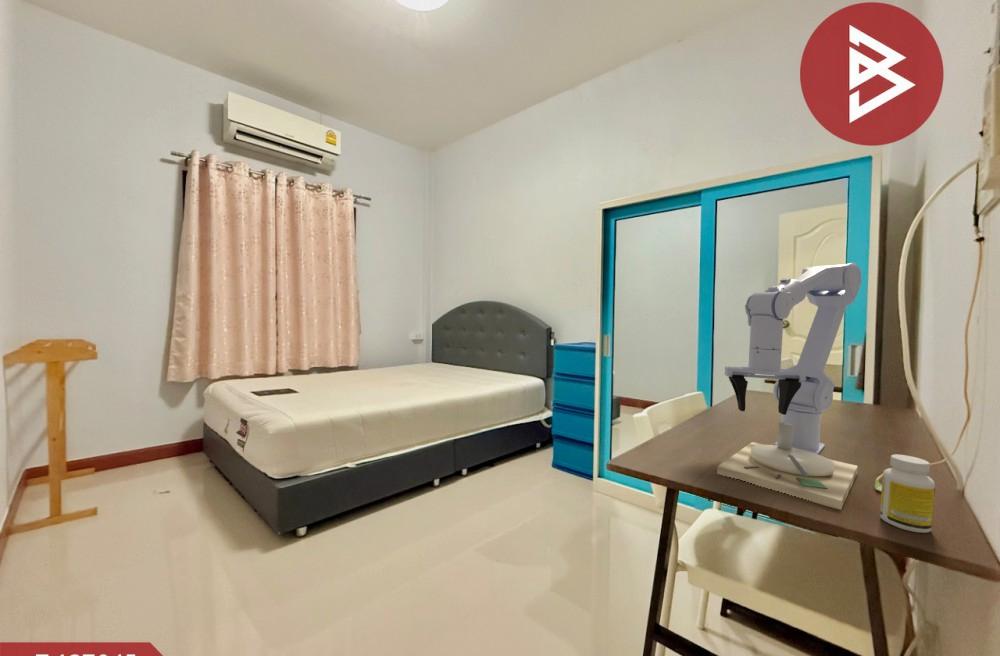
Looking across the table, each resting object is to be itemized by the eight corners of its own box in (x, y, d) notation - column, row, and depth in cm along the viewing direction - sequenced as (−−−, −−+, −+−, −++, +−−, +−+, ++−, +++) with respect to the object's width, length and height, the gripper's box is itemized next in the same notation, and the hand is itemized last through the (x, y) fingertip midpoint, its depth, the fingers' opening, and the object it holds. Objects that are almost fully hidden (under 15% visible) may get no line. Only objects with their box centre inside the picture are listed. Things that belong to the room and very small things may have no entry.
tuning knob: (855, 492, 65) (857, 454, 65) (760, 476, 70) (762, 441, 70) (821, 457, 81) (822, 426, 80) (746, 446, 86) (747, 418, 86)
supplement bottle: (942, 536, 56) (948, 467, 55) (897, 531, 57) (902, 463, 57) (911, 517, 61) (916, 454, 61) (870, 512, 62) (874, 450, 62)
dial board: (751, 448, 91) (752, 441, 91) (857, 473, 78) (857, 464, 78) (717, 473, 76) (717, 465, 76) (841, 510, 63) (841, 499, 63)
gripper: (732, 348, 83) (729, 413, 84) (814, 352, 79) (810, 419, 80) (723, 345, 90) (720, 405, 91) (798, 349, 86) (794, 411, 87)
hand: (761, 411), depth 86 cm, fingers open, 7 cm apart
